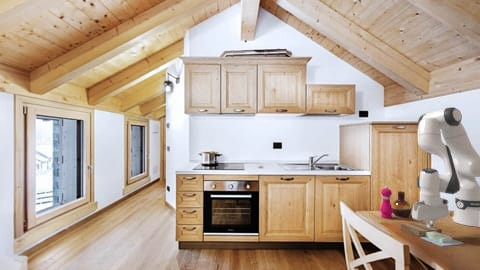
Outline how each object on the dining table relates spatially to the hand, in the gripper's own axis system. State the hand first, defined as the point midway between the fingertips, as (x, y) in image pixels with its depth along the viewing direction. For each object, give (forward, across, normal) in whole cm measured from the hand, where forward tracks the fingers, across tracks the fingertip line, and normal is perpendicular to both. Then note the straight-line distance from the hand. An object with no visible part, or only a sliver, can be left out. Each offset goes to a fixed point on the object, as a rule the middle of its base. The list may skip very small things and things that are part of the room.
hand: (430, 227), depth 140 cm
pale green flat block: (+4, 0, -5) cm, 6 cm away
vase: (+5, +16, +33) cm, 37 cm away
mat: (+5, -1, -6) cm, 8 cm away
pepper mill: (+5, +4, +33) cm, 33 cm away
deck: (+5, 0, +6) cm, 7 cm away
